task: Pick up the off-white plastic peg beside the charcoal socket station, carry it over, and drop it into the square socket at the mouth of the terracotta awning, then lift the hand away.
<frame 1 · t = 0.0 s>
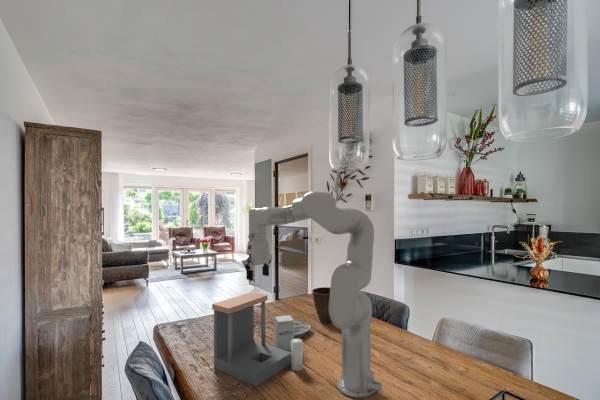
hand: (257, 277, 132), 31 cm above the table, fingers open, 9 cm apart
socket station: (255, 365, 119), on the table
supplement box: (284, 347, 135), on the table
brain slice: (293, 333, 152), on the table
peg: (297, 367, 118), on the table
plant pot: (326, 320, 168), on the table
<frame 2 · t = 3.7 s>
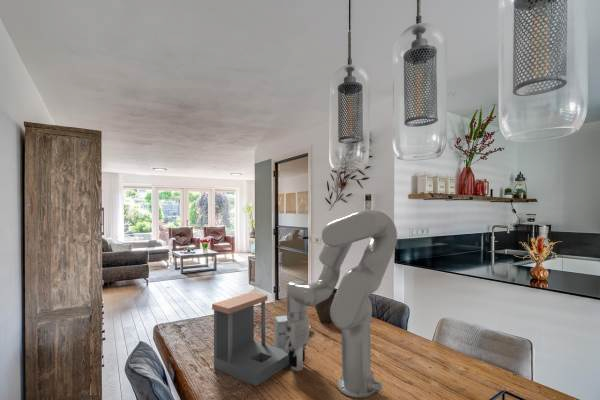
hand: (297, 362, 118), 2 cm above the table, fingers closed on peg, 4 cm apart
peg: (297, 367, 118), on the table, touching gripper
everything else where it was.
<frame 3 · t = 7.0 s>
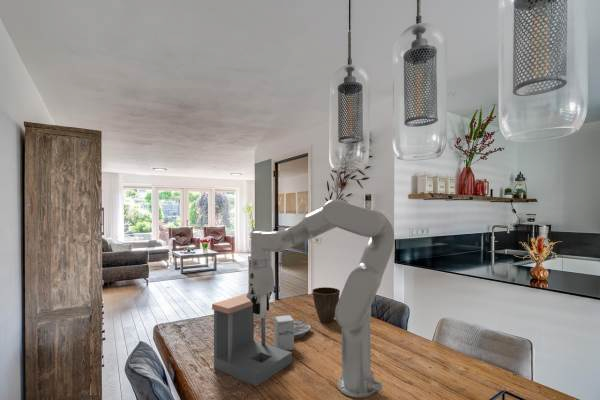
hand: (261, 311, 118), 21 cm above the table, fingers closed on peg, 4 cm apart
peg: (260, 316, 118), point 19 cm above the table, touching gripper
everything else where it was.
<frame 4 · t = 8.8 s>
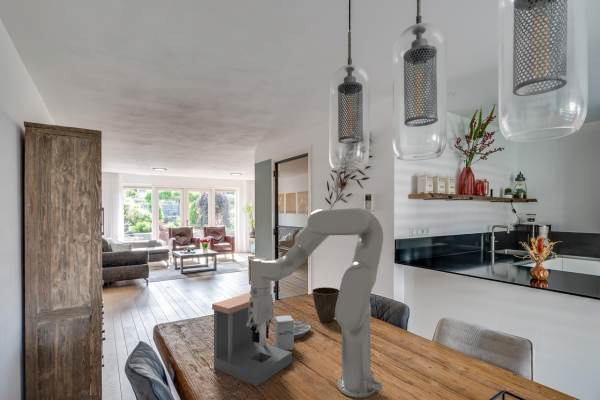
hand: (260, 339, 118), 11 cm above the table, fingers closed on peg, 4 cm apart
peg: (260, 344, 118), point 9 cm above the table, touching gripper
everything else where it was.
when the fingers open (7 cm above the table, at t = 10.4 s): peg drops 5 cm, resting in socket station.
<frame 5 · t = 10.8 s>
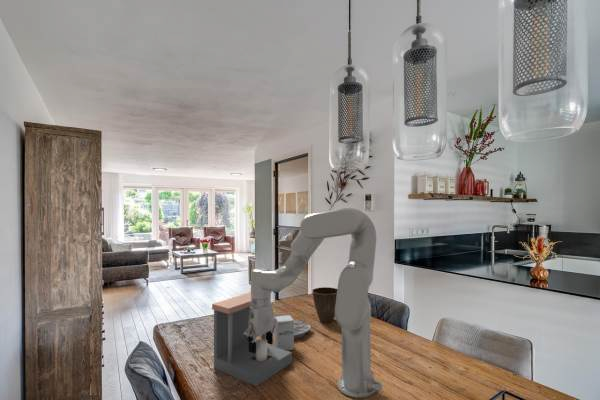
hand: (261, 347, 118), 8 cm above the table, fingers open, 8 cm apart
peg: (261, 368, 118), resting in socket station
everything else where it was.
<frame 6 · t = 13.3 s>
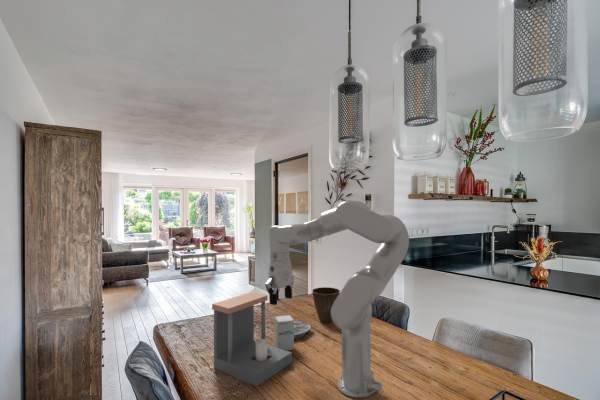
hand: (281, 301, 121), 24 cm above the table, fingers open, 9 cm apart
nothing on the table moved.
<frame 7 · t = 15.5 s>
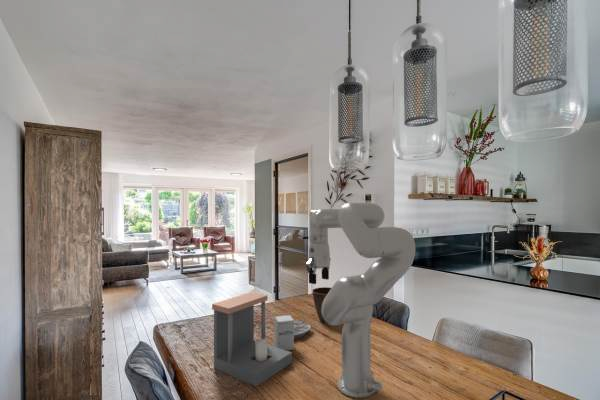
hand: (319, 281, 128), 30 cm above the table, fingers open, 9 cm apart
nothing on the table moved.
at the end: peg 0.2 cm from the target spot on the socket station, point 0.0 cm above the socket station's base; peg tilted 1°; the gripper is holding nothing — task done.
